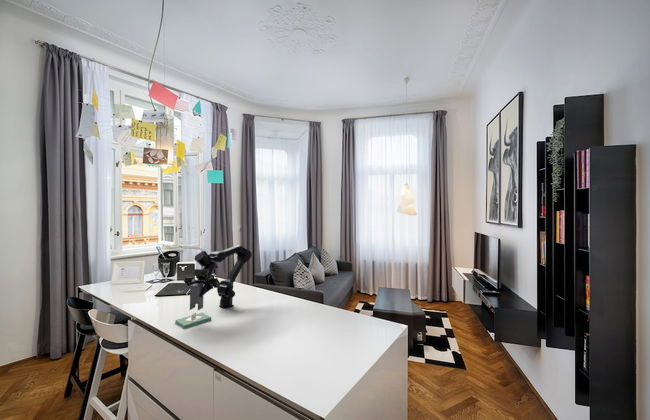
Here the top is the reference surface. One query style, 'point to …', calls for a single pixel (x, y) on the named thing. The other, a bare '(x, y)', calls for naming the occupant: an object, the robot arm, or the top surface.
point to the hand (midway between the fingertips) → (195, 296)
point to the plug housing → (196, 296)
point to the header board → (192, 320)
